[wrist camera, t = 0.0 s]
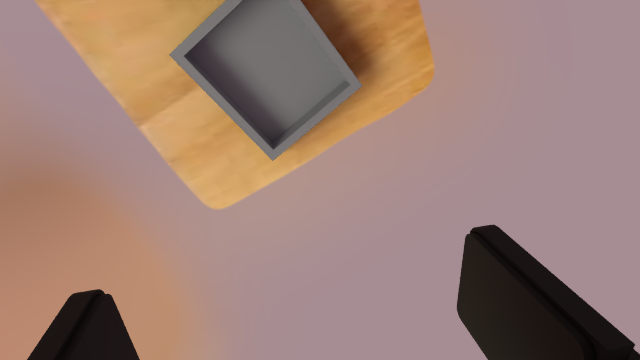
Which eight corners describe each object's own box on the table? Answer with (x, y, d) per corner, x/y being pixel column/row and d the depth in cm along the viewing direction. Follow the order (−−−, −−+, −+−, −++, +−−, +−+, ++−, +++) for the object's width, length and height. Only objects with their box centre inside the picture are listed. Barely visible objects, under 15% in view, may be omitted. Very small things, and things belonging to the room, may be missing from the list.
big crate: (176, 51, 40) (169, 54, 36) (268, -36, 38) (270, -42, 34) (271, 150, 47) (272, 160, 43) (353, 80, 44) (362, 85, 41)
